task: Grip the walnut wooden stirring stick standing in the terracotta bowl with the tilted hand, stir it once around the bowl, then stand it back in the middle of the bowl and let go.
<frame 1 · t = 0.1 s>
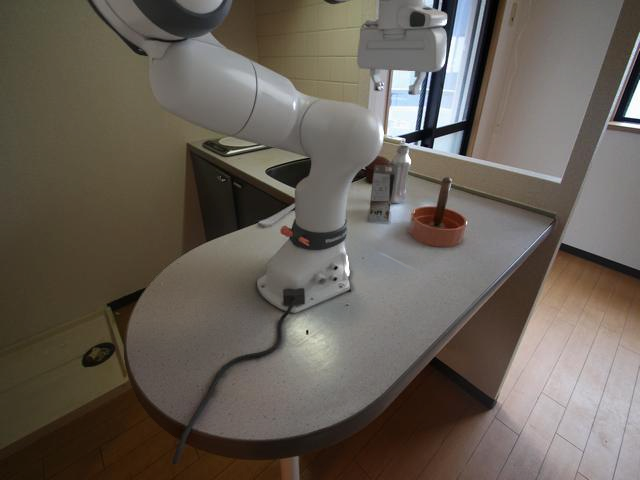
hand: (395, 92, 72), 39 cm above the worktop, tool pointing down, fingers open, 8 cm apart
coffee box: (378, 216, 105), on the worktop
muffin: (376, 181, 134), on the worktop
bowl: (434, 235, 94), on the worktop
stirring stick: (434, 233, 94), point 1 cm above the worktop, touching bowl
plastic bottle: (395, 202, 115), on the worktop
spoon: (296, 208, 109), on the worktop
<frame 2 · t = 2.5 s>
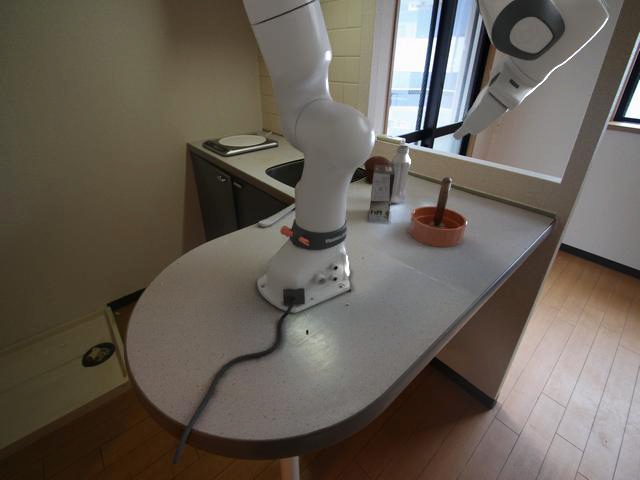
hand: (460, 128, 75), 31 cm above the worktop, tool tilted 40°, fingers open, 8 cm apart
nothing on the worktop moved.
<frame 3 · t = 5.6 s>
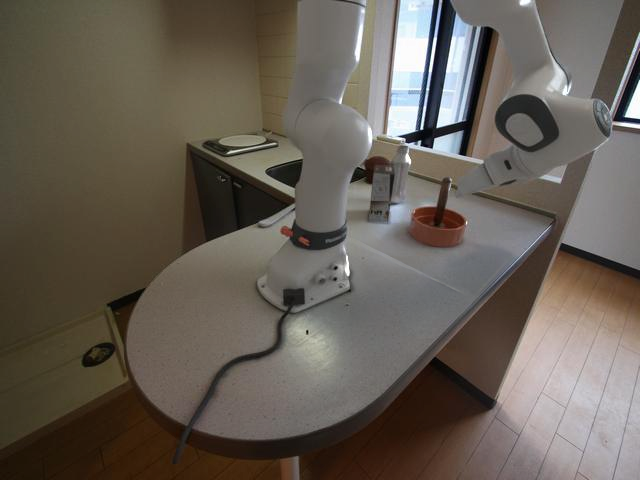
hand: (470, 191, 80), 17 cm above the worktop, tool tilted 45°, fingers open, 8 cm apart
nothing on the worktop moved.
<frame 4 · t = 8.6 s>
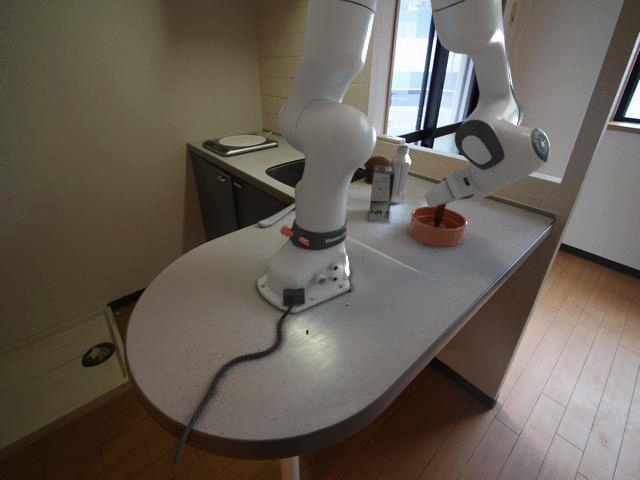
hand: (439, 202, 89), 10 cm above the worktop, tool tilted 45°, fingers closed on stirring stick, 2 cm apart
stirring stick: (434, 233, 94), point 1 cm above the worktop, touching bowl, gripper
everything else where it was.
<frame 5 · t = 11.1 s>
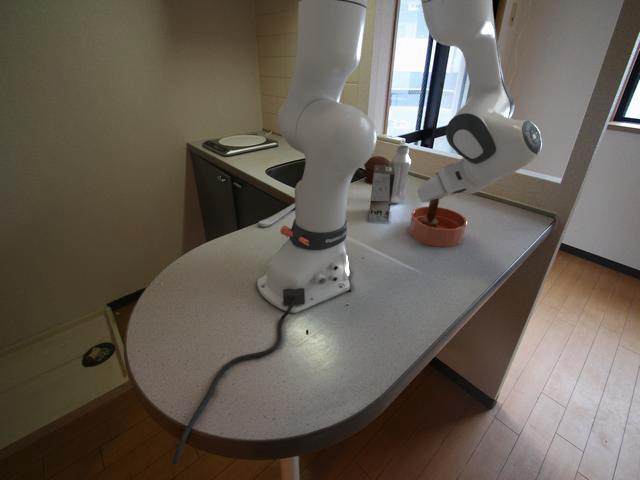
hand: (433, 197, 89), 12 cm above the worktop, tool tilted 45°, fingers closed on stirring stick, 2 cm apart
stirring stick: (428, 229, 93), point 2 cm above the worktop, touching gripper
everything else where it was.
when the fingers open (10 cm above the worktop, at t = 13.6 s): stirring stick stays where it is, resting on bowl.
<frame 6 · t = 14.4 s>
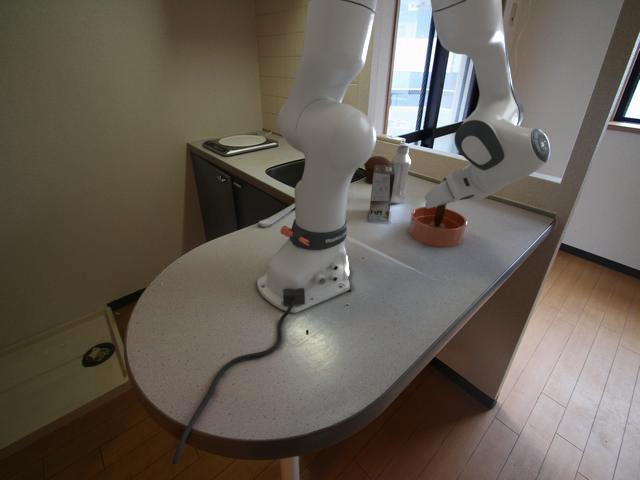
hand: (440, 202, 89), 10 cm above the worktop, tool tilted 45°, fingers open, 8 cm apart
stirring stick: (435, 233, 94), point 1 cm above the worktop, touching bowl
everything else where it was.
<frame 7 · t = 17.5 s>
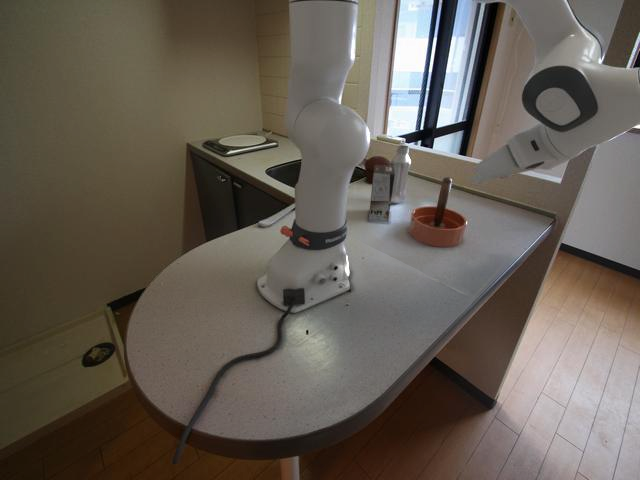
hand: (487, 178, 74), 22 cm above the worktop, tool tilted 45°, fingers open, 8 cm apart
nothing on the worktop moved.
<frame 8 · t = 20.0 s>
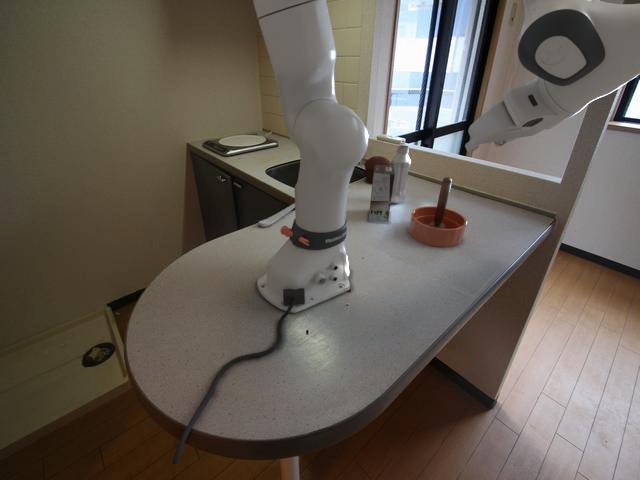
hand: (483, 145, 69), 29 cm above the worktop, tool tilted 45°, fingers open, 8 cm apart
nothing on the worktop moved.
at the end: stirring stick inside the target area in the bowl (0.1 cm from its centre), point 0.6 cm above the bowl's base; stirring stick tilted 0°; the gripper is holding nothing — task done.
